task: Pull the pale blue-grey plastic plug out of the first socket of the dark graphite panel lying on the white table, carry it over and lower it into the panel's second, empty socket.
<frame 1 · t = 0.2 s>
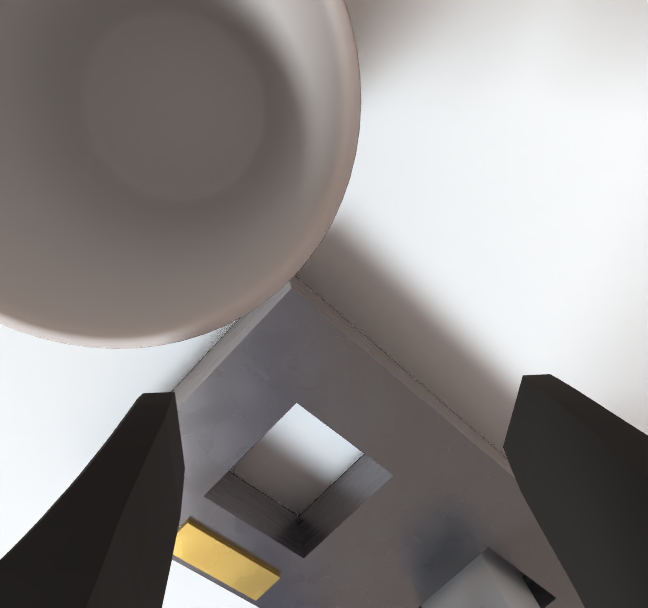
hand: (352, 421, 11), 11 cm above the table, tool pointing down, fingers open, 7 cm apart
panel: (384, 512, 25), on the table
mug: (133, 97, 18), on the table
plug: (461, 566, 27), resting in panel
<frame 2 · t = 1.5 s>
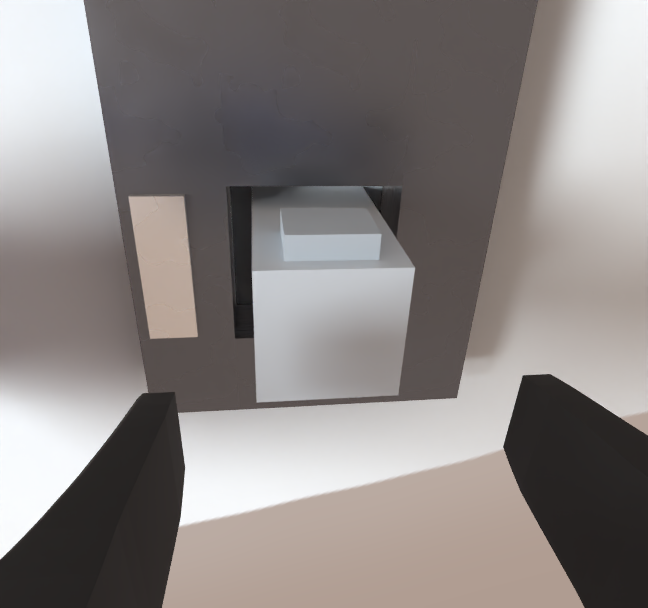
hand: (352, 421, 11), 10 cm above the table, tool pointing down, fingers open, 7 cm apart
panel: (310, 64, 17), on the table
plug: (306, 238, 20), resting in panel
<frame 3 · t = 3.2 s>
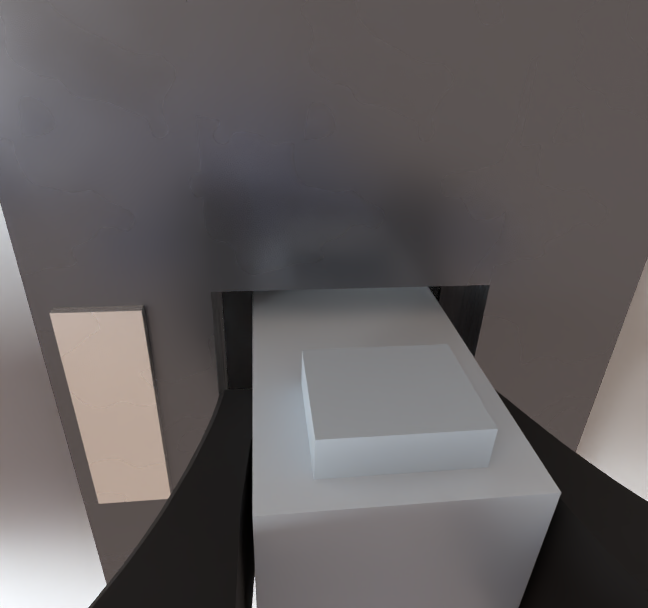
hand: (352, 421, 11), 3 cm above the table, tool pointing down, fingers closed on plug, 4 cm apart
panel: (344, 91, 11), on the table
plug: (331, 337, 14), resting in panel, touching gripper
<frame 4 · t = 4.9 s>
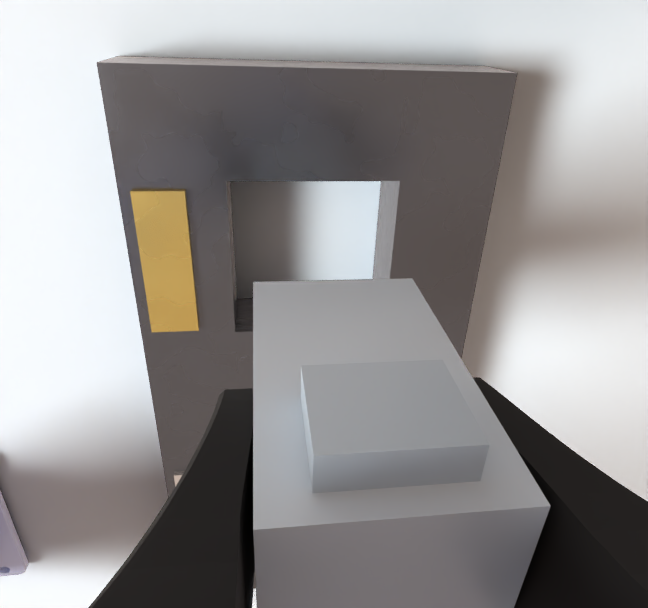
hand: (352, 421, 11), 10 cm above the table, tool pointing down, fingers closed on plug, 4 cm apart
panel: (304, 362, 23), on the table
plug: (330, 347, 14), point 7 cm above the table, touching gripper
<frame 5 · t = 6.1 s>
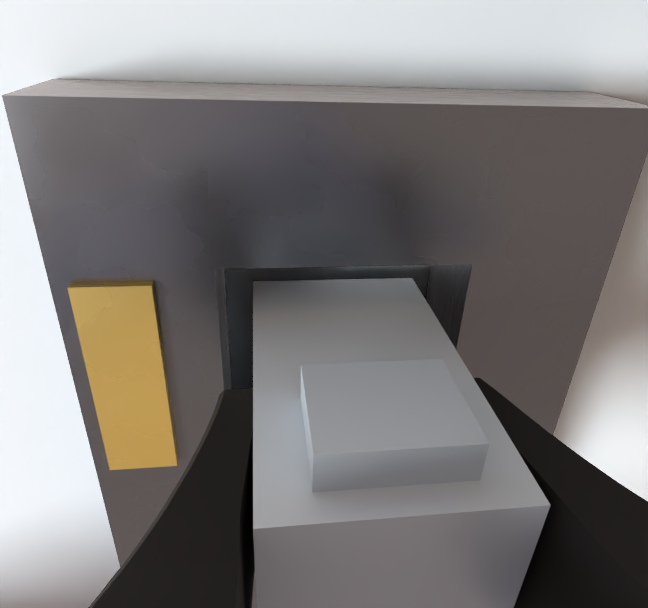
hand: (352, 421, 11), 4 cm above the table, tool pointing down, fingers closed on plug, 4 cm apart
panel: (320, 472, 17), on the table
plug: (330, 346, 14), point 1 cm above the table, touching gripper
when the fingers open (4 cm above the table, at t = 6.7 s): plug stays where it is, resting in panel.
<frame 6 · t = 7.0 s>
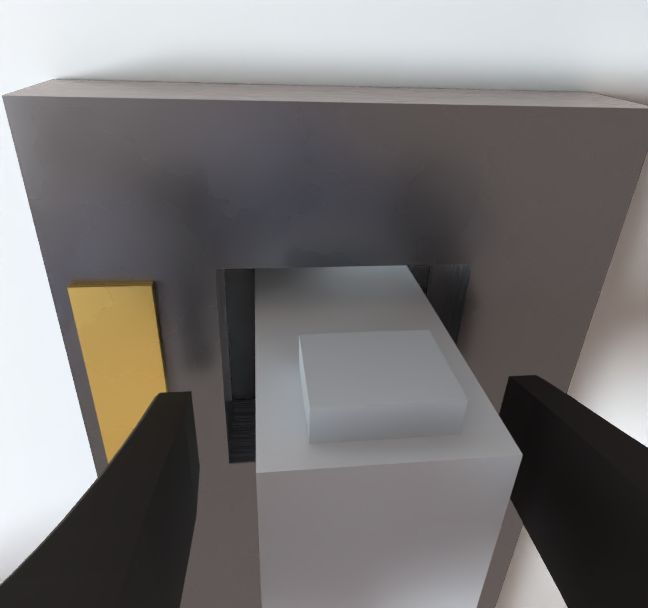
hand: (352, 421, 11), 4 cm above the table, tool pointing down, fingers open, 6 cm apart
panel: (320, 472, 17), on the table
plug: (328, 327, 15), resting in panel
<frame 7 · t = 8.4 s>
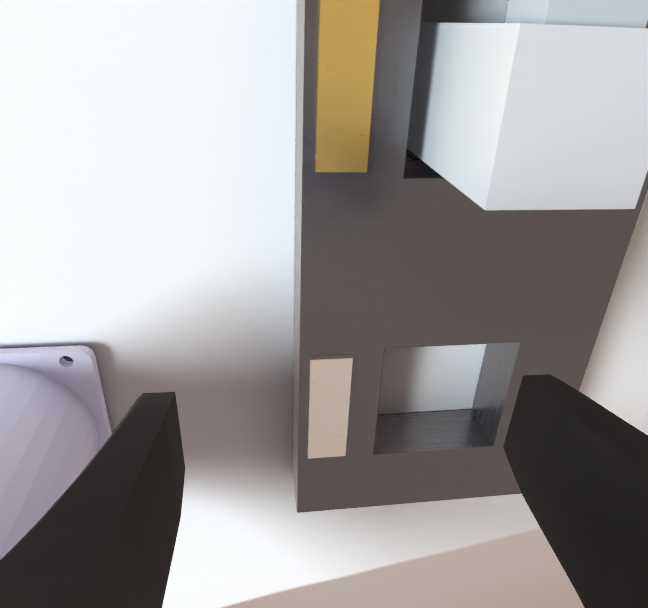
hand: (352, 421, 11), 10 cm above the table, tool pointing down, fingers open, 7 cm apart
panel: (444, 242, 21), on the table
plug: (469, 90, 18), resting in panel
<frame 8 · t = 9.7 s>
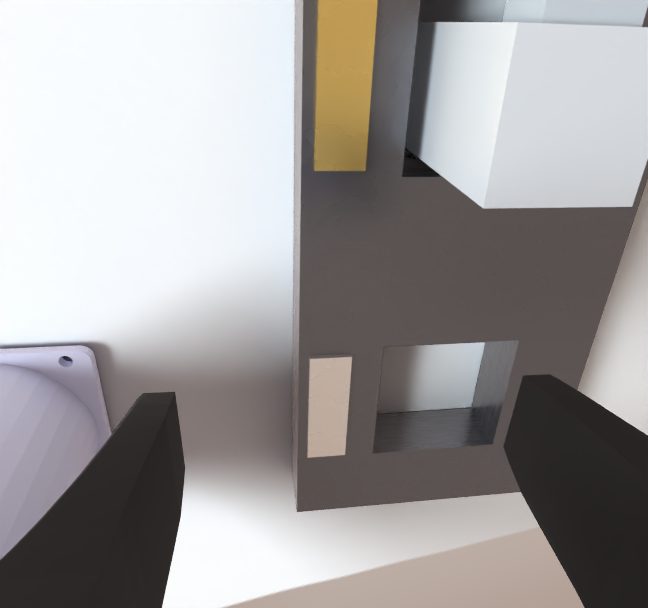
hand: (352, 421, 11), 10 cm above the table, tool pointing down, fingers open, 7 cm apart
panel: (443, 241, 21), on the table
plug: (467, 89, 18), resting in panel
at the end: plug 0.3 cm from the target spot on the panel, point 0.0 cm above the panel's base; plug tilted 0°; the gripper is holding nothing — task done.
